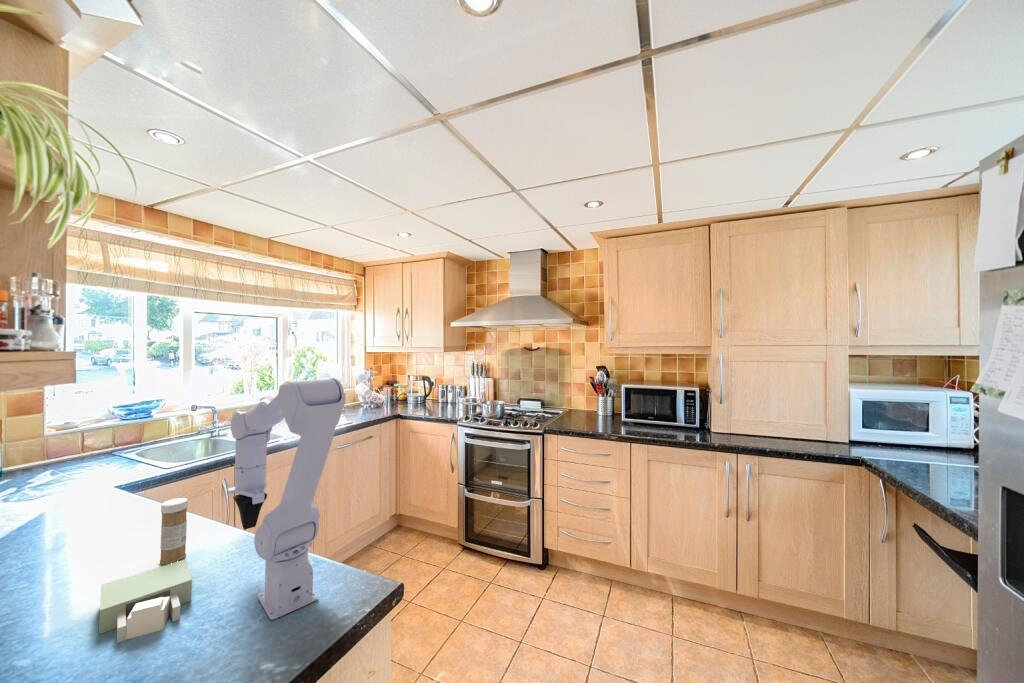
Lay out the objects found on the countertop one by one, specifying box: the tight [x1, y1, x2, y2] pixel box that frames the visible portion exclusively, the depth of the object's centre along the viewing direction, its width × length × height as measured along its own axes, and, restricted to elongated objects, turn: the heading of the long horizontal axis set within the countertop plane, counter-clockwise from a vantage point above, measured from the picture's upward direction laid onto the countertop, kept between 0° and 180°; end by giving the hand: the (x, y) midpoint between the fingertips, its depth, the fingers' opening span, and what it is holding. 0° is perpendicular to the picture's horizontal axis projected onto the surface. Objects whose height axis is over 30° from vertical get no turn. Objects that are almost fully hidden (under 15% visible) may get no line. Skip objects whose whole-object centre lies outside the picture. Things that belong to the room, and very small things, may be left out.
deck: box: [98, 559, 193, 644], centre depth 70 cm, size 15×12×4 cm
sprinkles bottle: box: [159, 497, 189, 565], centre depth 86 cm, size 5×5×13 cm
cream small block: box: [125, 596, 170, 641], centre depth 66 cm, size 4×5×4 cm
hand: (249, 527), depth 83 cm, fingers closed
